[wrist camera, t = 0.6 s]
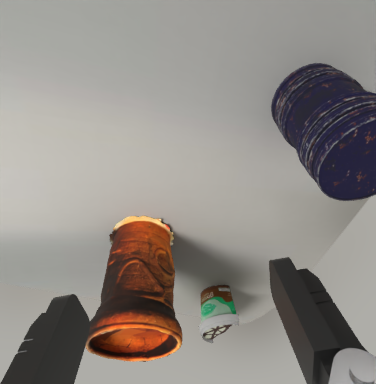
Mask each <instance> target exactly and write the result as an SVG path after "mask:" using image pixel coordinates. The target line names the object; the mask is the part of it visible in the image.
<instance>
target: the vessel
mask: <svg viewBox="0 0 376 384" xmlns="http://www.w3.org/2000/svg"><path fill="white" fill-rule="evenodd" d="M160 220H161V219H153V218H150V217H147V216H141V217H136V216H130V217H126V218H125V219H124V220H122V221H120V222H118V224H116V225H115V226H116V227H114V228H113V230H114V232H112V233H113V234H110V235H109V236H110V241H111V242H112V243H111V244H112V247H111V250H110V255H109V259H108V264H107V269H106V274H105V279H104V283H103V289H102V293H101V306H100V307H99V308H98V310H97V312H96V315H95V316H94V317H93V319H92V320H91V321H90V331H89V335H88V339H87V342H86V345H85V347H86V349H87V350H88V351H89V352H90V353H92V354H96V355H99V356H101V357H104V358H109V359H117V360H124V361H143V362H146V361H150V360H155V359H158V358H161V357H165V356H168V355H170V354H172V353H174V352H175V351H177V350H178V349H179V348H180V347H181V345H182V330H181V327H180V324H179V323H178V321H177V319H176V318H175V312H174V309H173V288H174V277H175V270H174V264H173V258H172V254H171V245H173V244H174V243H172V242H171V241H172V240H173V239H174V237H173V236H172V235H173V232H170V228H169V227H168V226H167V225H166V224H163V223H162V222H161V221H160Z"/></svg>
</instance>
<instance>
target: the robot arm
mask: <svg viewBox="0 0 376 384" xmlns="http://www.w3.org/2000/svg"><path fill="white" fill-rule="evenodd" d="M269 269H270V286H271V293H272V297H273V300H274V303H275V305H276V308H277V310H278V313H279V315H280V318H281V320H282V323H283V325H284V328H285V330H286V333H287V335H288V338H289V340H290V343H291V345H292V347H293V350H294V353H295V355H296V358H297V360H298V363H299V365H300V368H301V370H302V373H303V375H304V377H305V380H306V382H307V384H376V357H375V356H373V355H372V354H370V353H369V352H367V350H365V348H364V347H363V346H362V345H361V343H360V342H359V341H358V339H357V337H356V336H355V334H354V333H353V331H352V330H351V328H350V327H349V325H348V323H347V322H346V320H345V319H344V317H343V316H342V314H341V312H340V311H339V309H338V308H337V306H336V305H335V303H333V301H332V299H331V297H330V296H329V294H328V293H327V292H326V289H325V288H324V286H323V285H322V283H321V281H320V280H319V278H318V277H316V276H315V275H314V274H313V273H311V272H310V271H309V270H308V269H300V270H296V268H295V266H294V264H293V263H292V261H291V259H290V258H289V257H287V258H281V259H275V260H270V261H269ZM89 331H90V321H89V318H88V316H87V314H86V312H85V310H84V308H83V307H82V305H81V303H80V301H79V300H78V298H77V296H76V295H74V294H72V295H66V296H61V297H55V298H54V299H53V300H52V301H51V303H50V305H49V307H48V309H47V311H46V313H42V314H41V315H40V316H39V317H38V319H36V321H35V322H34V323H33V324H32V325H31V327H30V328H29V331H28V333H27V334H26V336H25V338H24V342H23V343H22V344H21V346H20V348H19V350H18V354H16V355H15V357H14V359H13V361H12V363H11V365H10V367H9V369H8V370H7V372H6V374H5V376H4V378H3V380H2V382H1V384H74V382H75V378H76V375H77V372H78V368H79V365H80V362H81V359H82V355H83V352H84V348H85V345H86V342H87V339H88V335H89Z"/></svg>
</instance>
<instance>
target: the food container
mask: <svg viewBox="0 0 376 384" xmlns="http://www.w3.org/2000/svg"><path fill="white" fill-rule="evenodd" d="M233 324H234V325H239V315H237V314H236V310H235V307H234V303H233V299H232V296H231V292H230V288H229V286H227V285H217V286H212V287H209V288H207V289H205V290H204V291H203V292H202V293H201V324H200V325H199V330H200V334H201V336H202V338H203V339H204V340H205V341H207V342H210V343H213V338H215V337H216V336H217V335H219V334H222V333H224V332H225V331H226V330H227V329H228V328H229V327H230V326H231V325H233Z"/></svg>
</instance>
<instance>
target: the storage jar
mask: <svg viewBox="0 0 376 384" xmlns="http://www.w3.org/2000/svg"><path fill="white" fill-rule="evenodd" d="M271 111H272V117H273V119H274V121H275V123H276V124H277V126H278V128H279V130H280V132H281V133H282V135H283V136H284V138H285V140H286V141H287V142H288V143H289V144H290V145H291V146H292V147H294V148H295V149H296V150H297V153H298V157H299V160H300V162H301V163H302V165H303V166H304V167H305V169H306V170H307V172H308V173H309V175H310V176H311V177H312V178H313V179H314V180H315V182H316V183H317V184H318V186H319V188H320V189H321V191H322V192H323V193H324V194H325V195H327V196H328V197H330V198H333V199H336V200H342V201H354V200H360V199H364V198H368V197H371V196H373V195H376V94H375V93H372V92H367V91H365V90H364V89H363V87H362V86H361V85H360V84H359V83H358V82H357V81H356V80H354V79H352V78H351V77H350V76H348V75H347V74H345V73H344V72H342V71H339V70H337V69H335V68H333V67H332V66H330V65H327V64H322V63H314V64H309V65H306V66H303V67H301V68H299V69H297V70H295V71H294V72H292V73H291V74H290V75H289V76H288V77H286V78H285V79H284V81H283V82H282V83H281V84H280V86H279V87H278V88H277V90H276V92H275V94H274V97H273V100H272V106H271Z"/></svg>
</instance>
